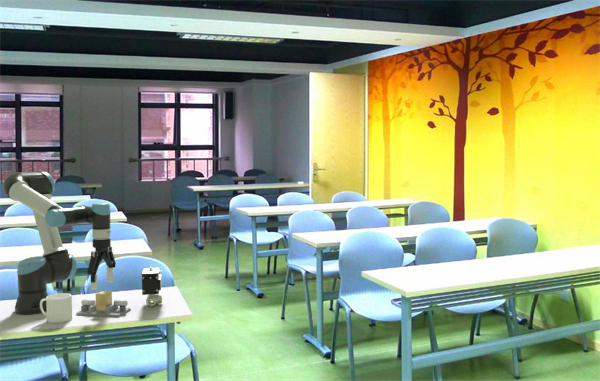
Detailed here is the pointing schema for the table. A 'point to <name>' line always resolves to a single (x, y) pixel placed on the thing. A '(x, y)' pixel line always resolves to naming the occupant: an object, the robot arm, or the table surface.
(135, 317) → the table surface
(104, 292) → the coupling block
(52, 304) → the mug
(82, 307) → the shaft rig
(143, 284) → the ball valve
